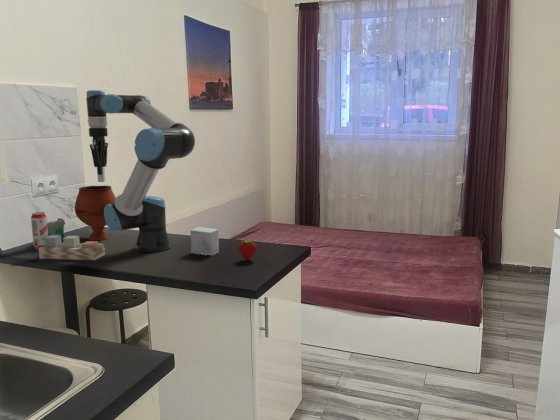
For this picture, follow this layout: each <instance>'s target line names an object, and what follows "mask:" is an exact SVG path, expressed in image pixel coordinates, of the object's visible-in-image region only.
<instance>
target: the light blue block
mask: <svg viewBox="0 0 560 420" xmlns="http://www.w3.org/2000/svg"><path fill="white" fill-rule="evenodd" d="M62 243H63V242H62V241H61V235H50V236H48V237H45V247H55V248H56V247H58V246H60V245H62Z"/></svg>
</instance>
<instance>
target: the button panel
mask: <svg viewBox="0 0 560 420" xmlns="http://www.w3.org/2000/svg"><path fill="white" fill-rule="evenodd" d="M83 243H84V242H83ZM83 243H80V245H79V246H77V247H75V248H64V244H63V242H62V245H60V246H58V247H56V248H55V247H45V245H44V246H42V247H40V248H39V250H38V255H39V256H38V257H39V260H75V261H77V260H78V261H97V260H98V259H100V258H101V257H103V256H104V255H106V249H105V243H98V246H97V247H96V248H94V249H92V248H82V244H83Z"/></svg>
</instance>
